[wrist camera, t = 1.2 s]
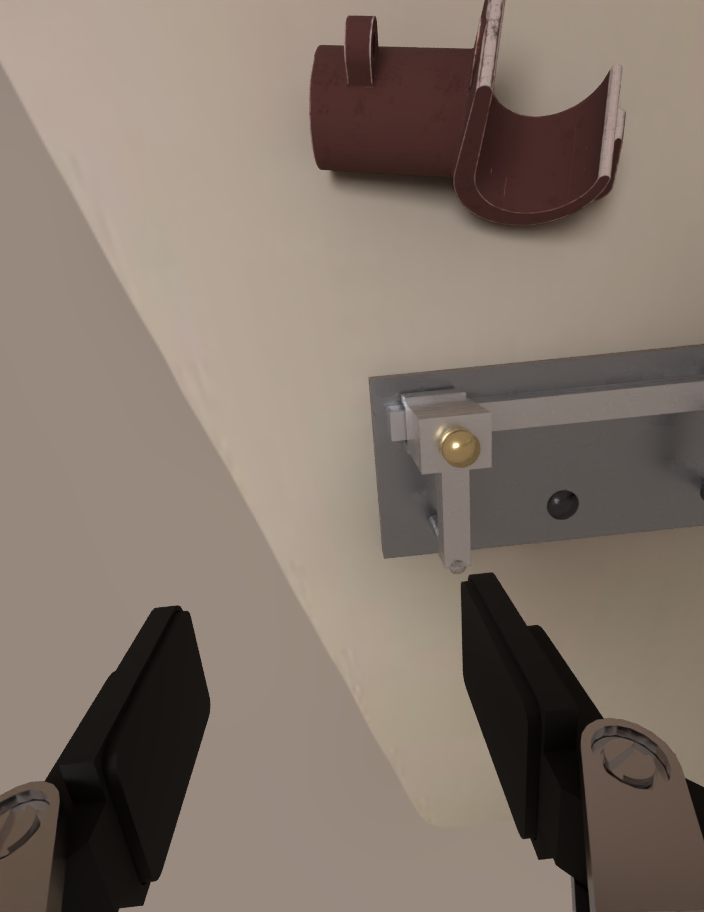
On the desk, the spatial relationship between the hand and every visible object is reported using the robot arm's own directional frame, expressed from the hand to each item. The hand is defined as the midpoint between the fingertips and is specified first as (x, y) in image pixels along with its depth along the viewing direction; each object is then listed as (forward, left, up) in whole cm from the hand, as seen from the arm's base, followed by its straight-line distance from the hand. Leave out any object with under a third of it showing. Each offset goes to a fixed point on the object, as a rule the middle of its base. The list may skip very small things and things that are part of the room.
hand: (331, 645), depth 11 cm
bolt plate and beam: (-18, +4, -24) cm, 30 cm away
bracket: (-10, -17, -24) cm, 31 cm away
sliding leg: (-7, +3, -22) cm, 23 cm away
